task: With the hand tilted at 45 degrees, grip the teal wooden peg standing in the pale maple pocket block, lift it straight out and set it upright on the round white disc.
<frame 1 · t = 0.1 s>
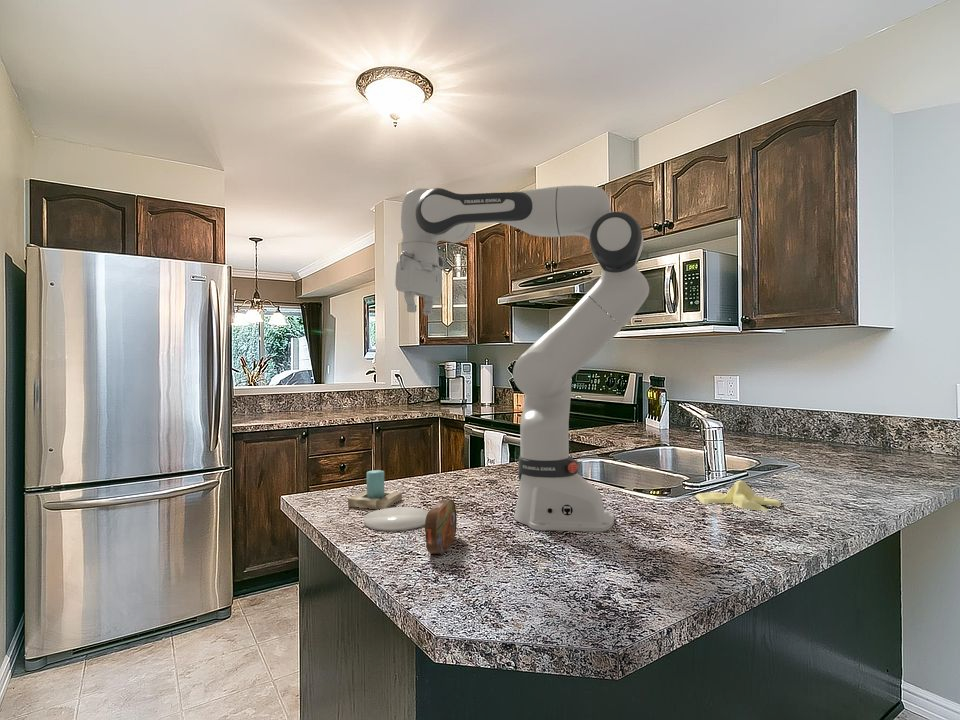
hand: (420, 313, 136), 48 cm above the countertop, tool pointing down, fingers open, 8 cm apart
tin: (441, 547, 109), on the countertop
round white disc: (397, 520, 126), on the countertop
pocket block: (375, 503, 141), on the countertop
peg: (375, 487, 141), in the pocket block
cloth: (743, 506, 138), on the countertop
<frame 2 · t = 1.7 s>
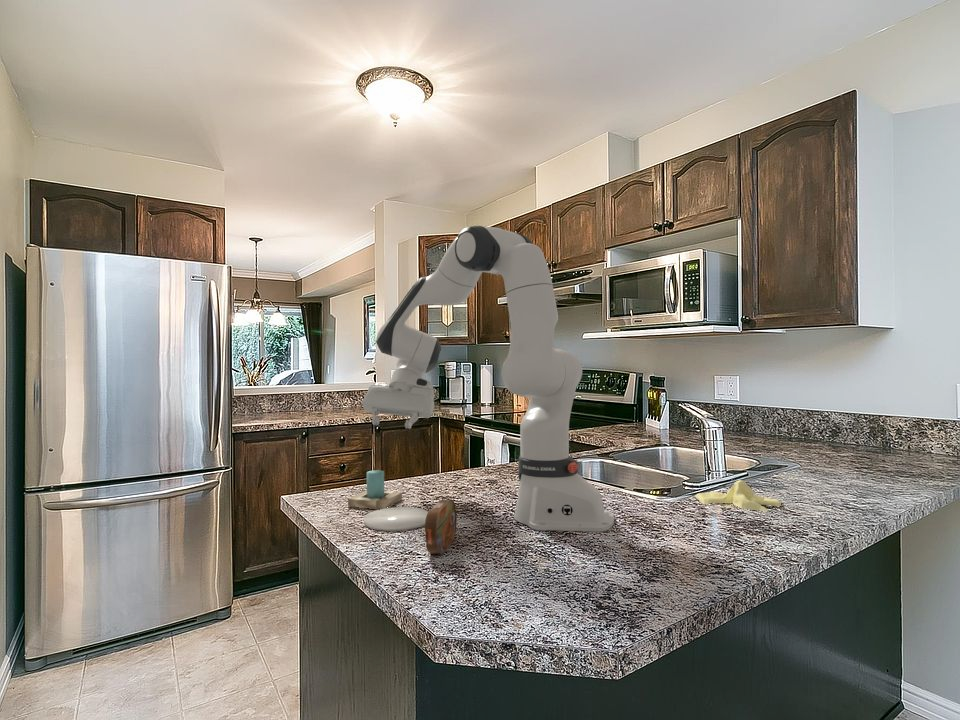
hand: (391, 425, 152), 19 cm above the countertop, tool tilted 45°, fingers open, 8 cm apart
nothing on the countertop moved.
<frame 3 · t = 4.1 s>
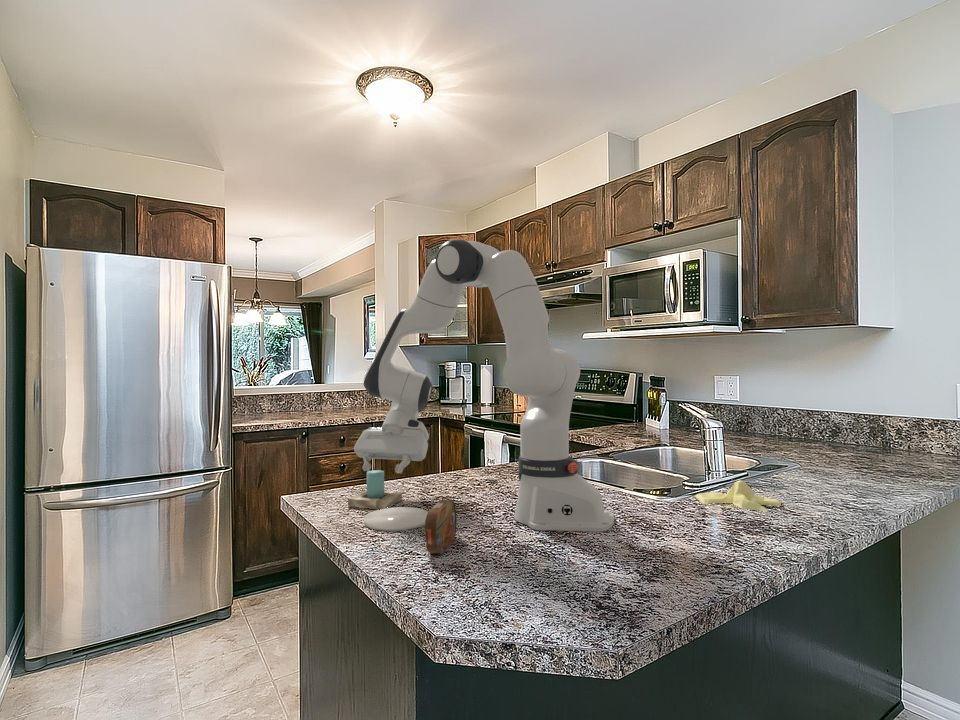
hand: (381, 471, 145), 8 cm above the countertop, tool tilted 45°, fingers open, 8 cm apart
nothing on the countertop moved.
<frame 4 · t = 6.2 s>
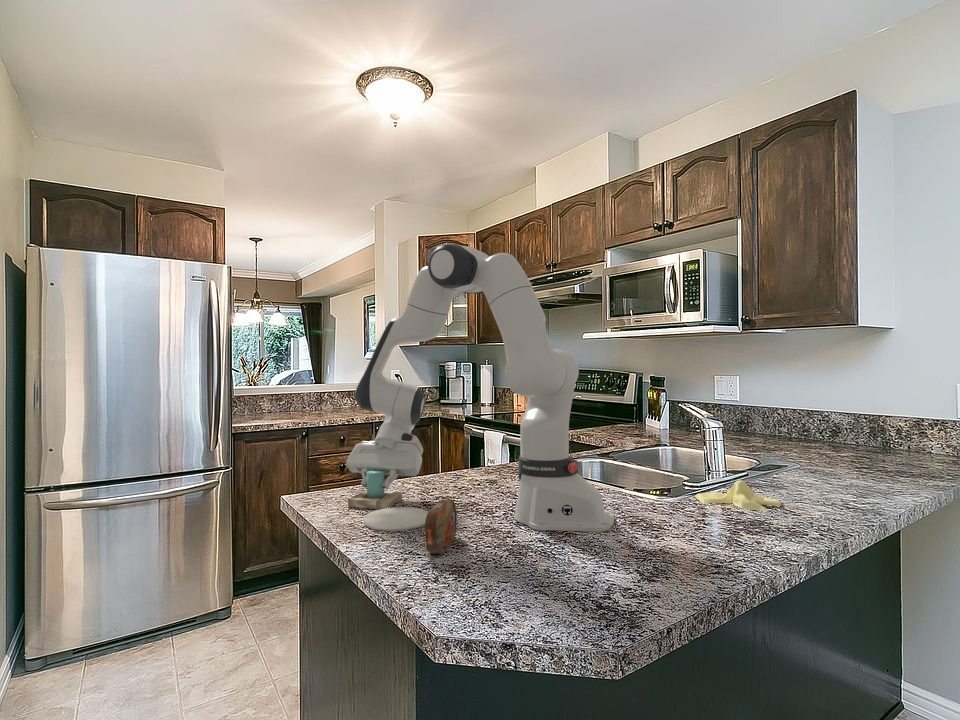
hand: (374, 486, 141), 4 cm above the countertop, tool tilted 45°, fingers closed on peg, 4 cm apart
peg: (375, 487, 141), in the pocket block, touching gripper
everything else where it was.
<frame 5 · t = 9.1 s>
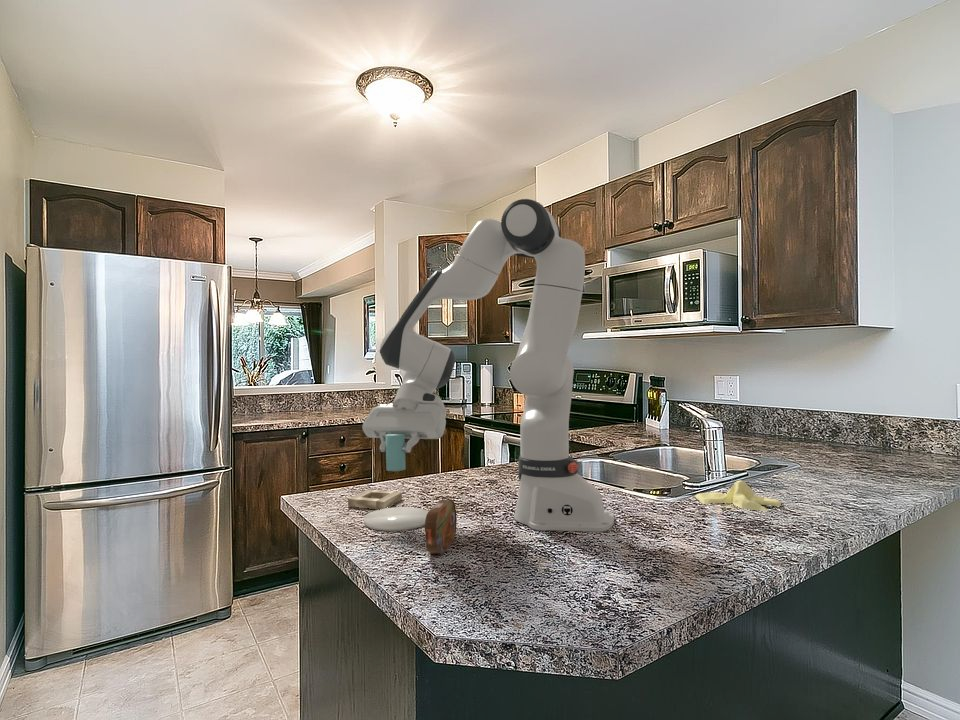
hand: (394, 450, 127), 16 cm above the countertop, tool tilted 45°, fingers closed on peg, 4 cm apart
peg: (395, 451, 128), point 15 cm above the countertop, touching gripper
everything else where it was.
when the fingers open (7 cm above the countertop, at t = 11.9 s): peg drops 1 cm, resting on round white disc.
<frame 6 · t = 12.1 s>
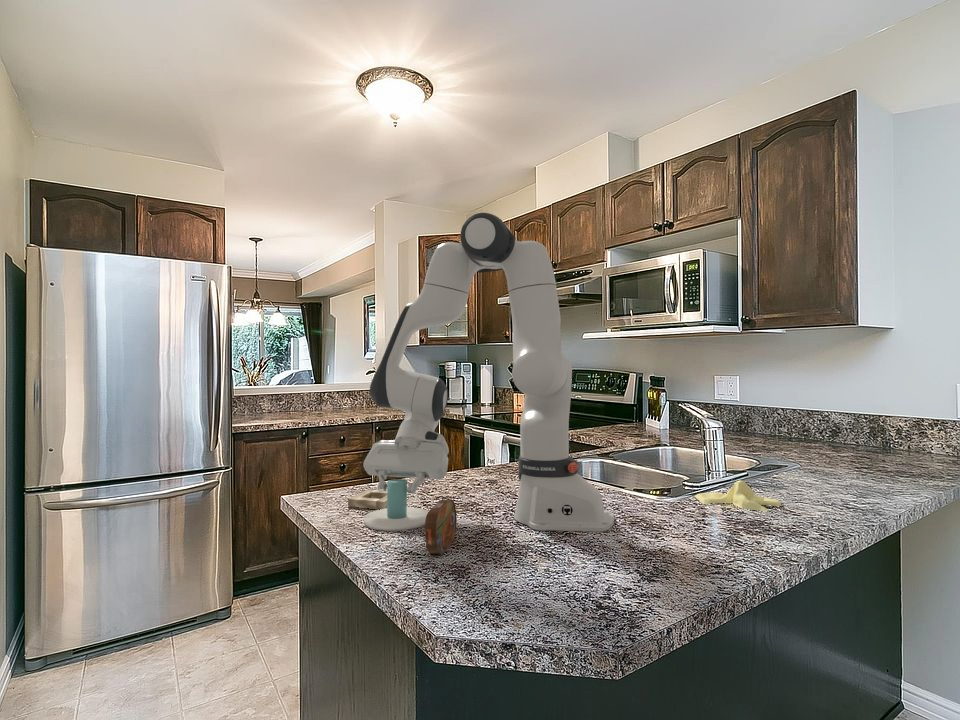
hand: (395, 491, 126), 7 cm above the countertop, tool tilted 45°, fingers open, 6 cm apart
peg: (397, 498, 126), on the round white disc, point 5 cm above the countertop
everything else where it was.
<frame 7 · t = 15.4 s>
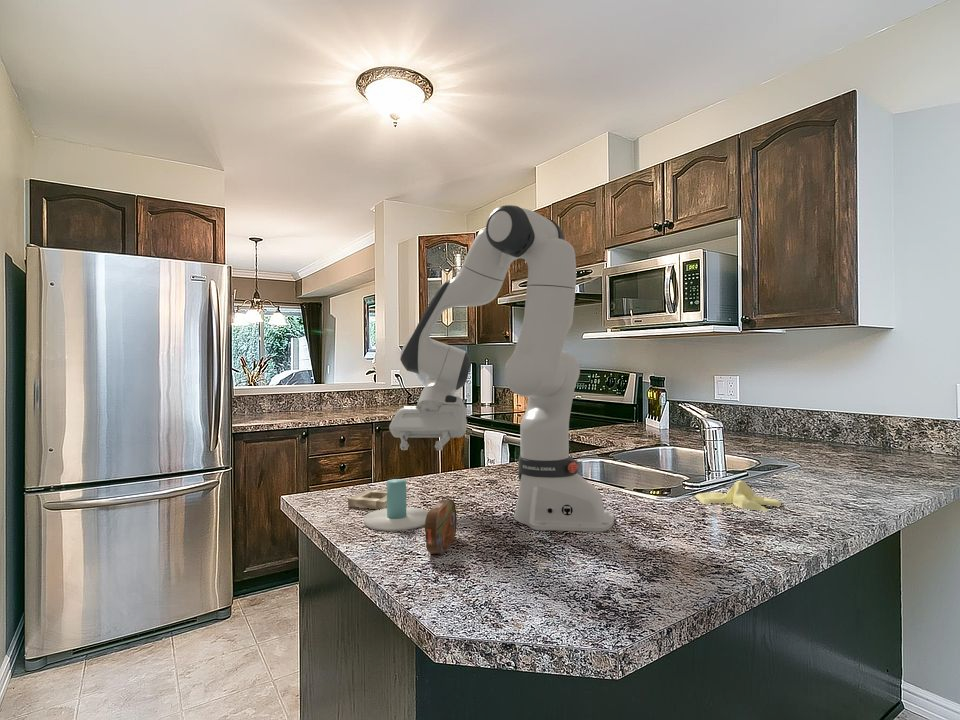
hand: (420, 448, 138), 14 cm above the countertop, tool tilted 45°, fingers open, 8 cm apart
nothing on the countertop moved.
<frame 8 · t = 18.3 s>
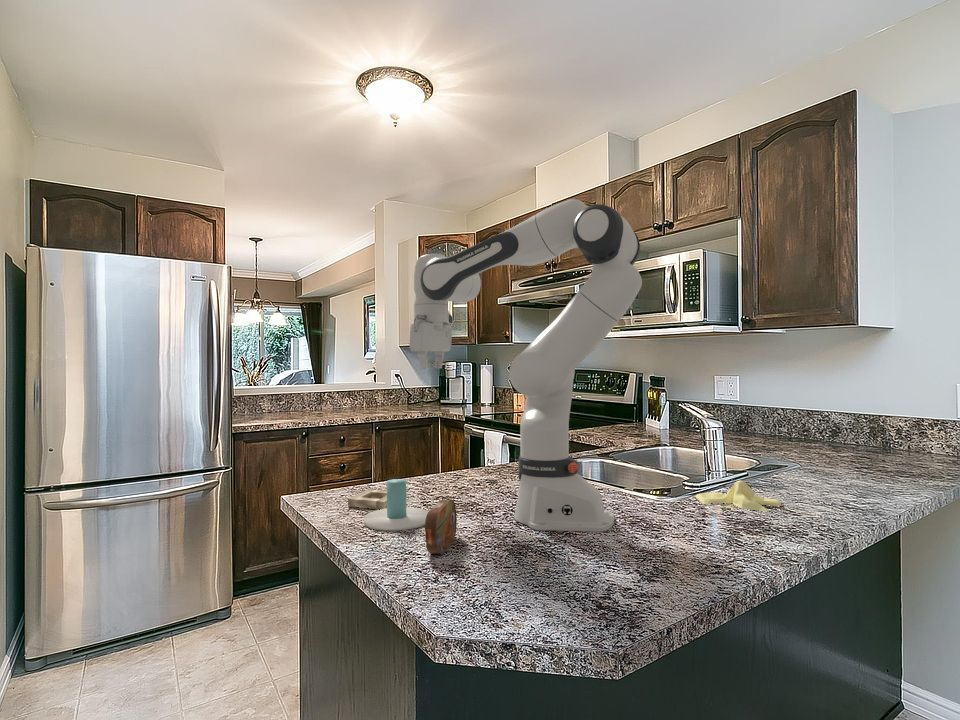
hand: (431, 368, 146), 34 cm above the countertop, tool pointing down, fingers open, 8 cm apart
nothing on the countertop moved.
at the end: peg inside the target area on the round white disc (0.1 cm from its centre), point 5.0 cm above the round white disc's base; peg tilted 0°; the gripper is holding nothing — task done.
